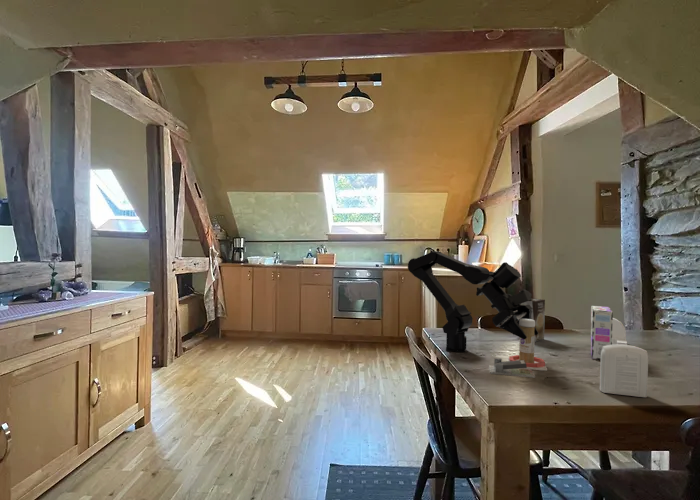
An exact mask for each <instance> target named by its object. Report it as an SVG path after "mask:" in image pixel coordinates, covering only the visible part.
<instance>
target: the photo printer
mask: <svg viewBox="0 0 700 500" xmlns="http://www.w3.org/2000/svg"><path fill="white" fill-rule="evenodd" d="M599 366H600V370H599V391H600V392H602V393H604V394H611V395H612V394H614V395H620V396H621V395H622V396H632V397H638V398H647V397H648V378H649V353H648V351H647V350H646V349H643V348H641V347H638V346H634V345H631V344H630V345H629V344H627V345H623V344H614V345H607V346H603V347H602V350H601V360H600V365H599Z"/></svg>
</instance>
